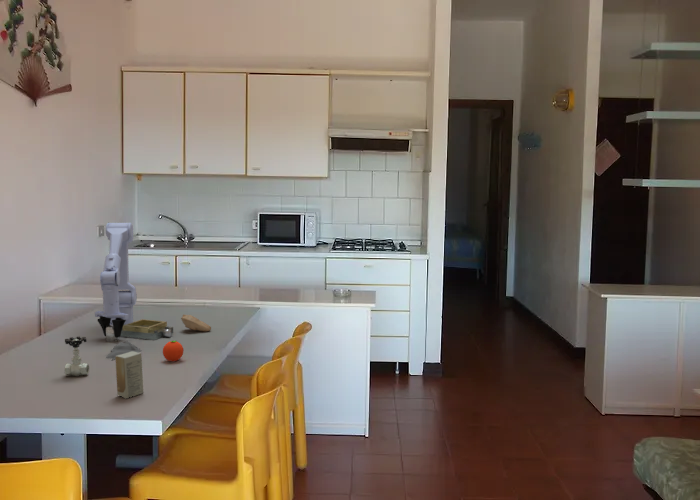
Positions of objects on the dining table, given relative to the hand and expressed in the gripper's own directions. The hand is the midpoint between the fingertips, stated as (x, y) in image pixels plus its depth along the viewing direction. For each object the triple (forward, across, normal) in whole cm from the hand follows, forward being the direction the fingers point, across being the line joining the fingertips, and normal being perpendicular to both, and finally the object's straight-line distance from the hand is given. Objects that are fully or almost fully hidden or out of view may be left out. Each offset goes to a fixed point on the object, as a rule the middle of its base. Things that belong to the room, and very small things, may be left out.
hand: (112, 336), depth 263 cm
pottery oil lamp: (+2, +22, +24) cm, 32 cm away
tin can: (+1, 0, 0) cm, 1 cm away
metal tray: (+1, +7, +12) cm, 14 cm away
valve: (+2, +21, -41) cm, 46 cm away
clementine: (+2, +39, -15) cm, 42 cm away
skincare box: (+2, +49, -50) cm, 70 cm away
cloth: (+2, +14, -11) cm, 18 cm away
